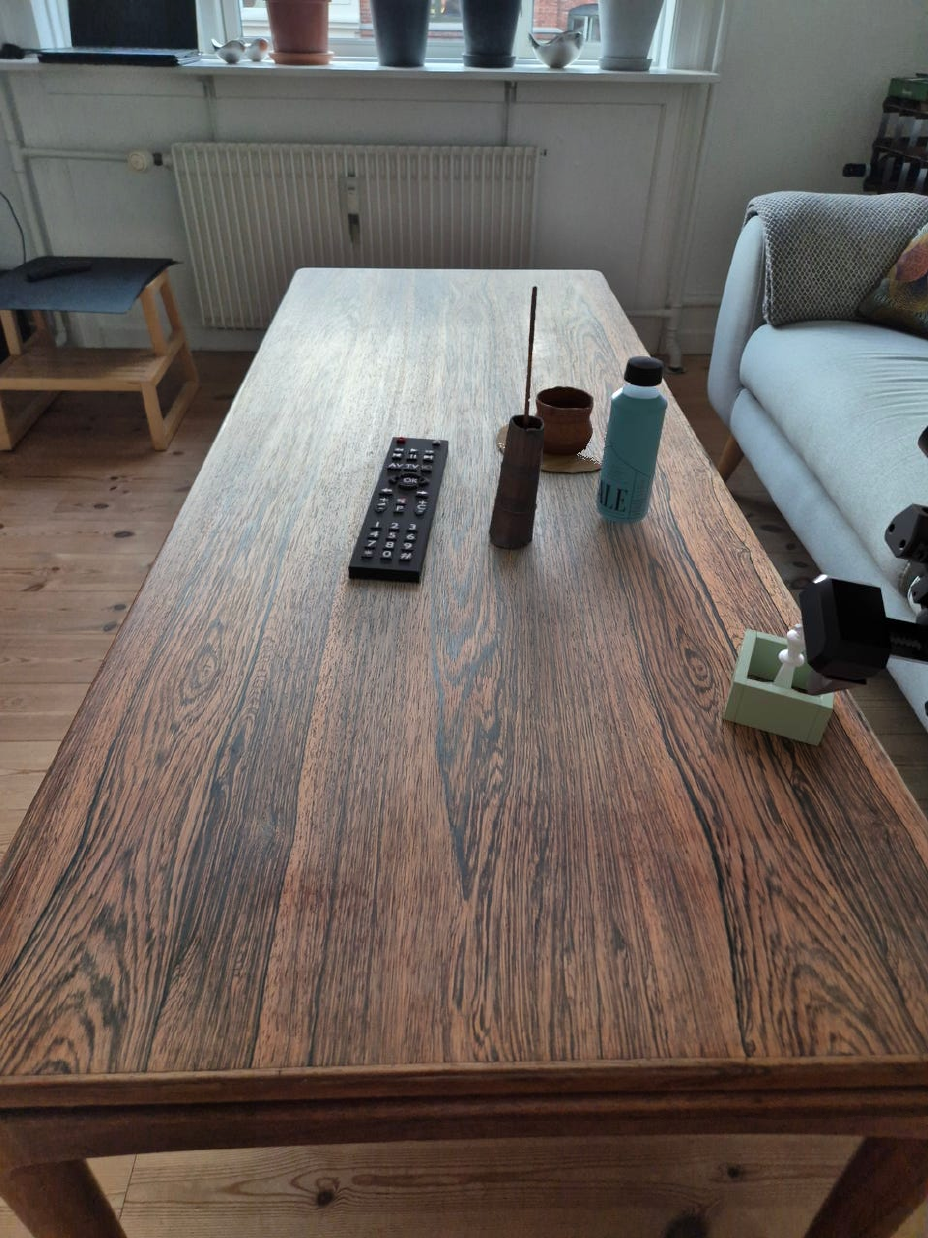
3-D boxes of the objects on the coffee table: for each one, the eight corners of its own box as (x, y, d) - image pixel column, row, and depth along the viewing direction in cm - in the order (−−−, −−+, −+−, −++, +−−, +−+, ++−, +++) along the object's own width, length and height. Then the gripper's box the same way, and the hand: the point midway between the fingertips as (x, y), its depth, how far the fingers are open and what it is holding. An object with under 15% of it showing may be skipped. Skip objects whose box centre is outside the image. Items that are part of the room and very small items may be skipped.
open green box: (824, 688, 79) (838, 651, 76) (817, 746, 73) (833, 709, 70) (735, 664, 81) (746, 628, 78) (722, 719, 75) (733, 681, 72)
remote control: (448, 450, 116) (448, 436, 114) (419, 583, 90) (419, 568, 89) (393, 446, 116) (393, 433, 115) (348, 578, 91) (347, 562, 89)
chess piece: (814, 716, 76) (849, 630, 70) (769, 729, 74) (800, 641, 68) (780, 682, 79) (810, 596, 73) (736, 693, 78) (763, 607, 72)
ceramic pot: (635, 473, 112) (644, 424, 107) (503, 474, 110) (506, 424, 106) (608, 416, 126) (615, 370, 121) (490, 416, 125) (493, 370, 120)
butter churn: (552, 569, 93) (581, 314, 76) (467, 559, 94) (477, 305, 77) (557, 526, 100) (586, 284, 83) (479, 518, 101) (490, 277, 84)
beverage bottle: (650, 513, 104) (680, 353, 91) (642, 540, 99) (673, 375, 86) (598, 503, 105) (620, 345, 93) (587, 529, 100) (610, 366, 88)
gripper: (1139, 506, 52) (963, 626, 65) (862, 445, 50) (739, 582, 63) (1202, 665, 46) (995, 761, 60) (893, 603, 44) (750, 717, 58)
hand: (868, 699), depth 60 cm, fingers open, 9 cm apart
